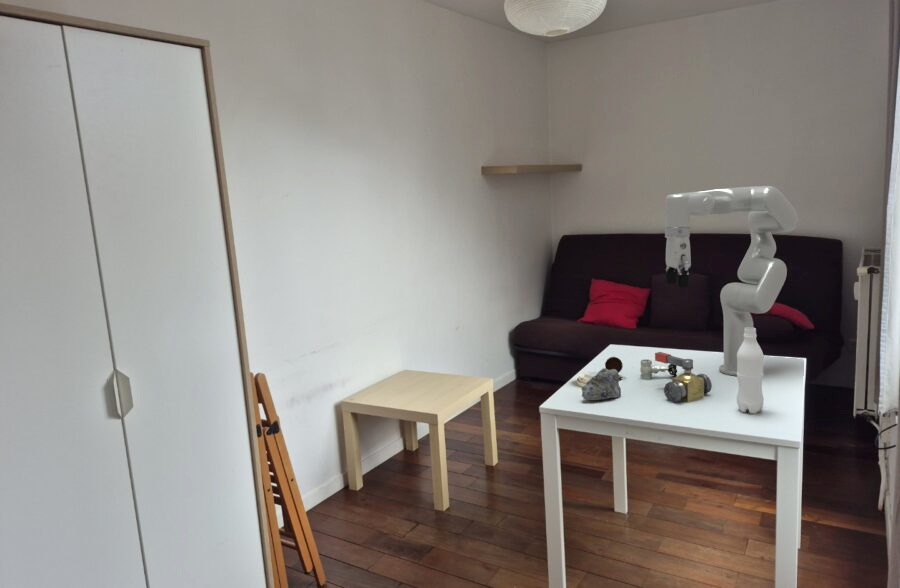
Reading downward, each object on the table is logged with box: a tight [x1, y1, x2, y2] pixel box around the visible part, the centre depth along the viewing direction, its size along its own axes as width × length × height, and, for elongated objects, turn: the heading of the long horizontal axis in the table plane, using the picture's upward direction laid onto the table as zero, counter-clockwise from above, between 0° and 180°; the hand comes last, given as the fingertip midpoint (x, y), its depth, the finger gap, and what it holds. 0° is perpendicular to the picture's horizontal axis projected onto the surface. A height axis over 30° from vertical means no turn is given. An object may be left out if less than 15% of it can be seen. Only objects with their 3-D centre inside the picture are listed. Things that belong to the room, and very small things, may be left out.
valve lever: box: [654, 351, 694, 371], centre depth 213 cm, size 15×3×3 cm, turn 27°
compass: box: [604, 356, 628, 381], centre depth 234 cm, size 8×8×7 cm
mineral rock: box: [581, 367, 622, 401], centre depth 215 cm, size 13×11×10 cm
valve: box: [639, 358, 678, 381], centre depth 231 cm, size 7×7×12 cm
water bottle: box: [736, 326, 765, 415], centre depth 193 cm, size 7×7×25 cm
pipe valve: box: [663, 369, 713, 404], centre depth 209 cm, size 14×8×9 cm, turn 117°
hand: (676, 285), depth 214 cm, fingers open, 9 cm apart
